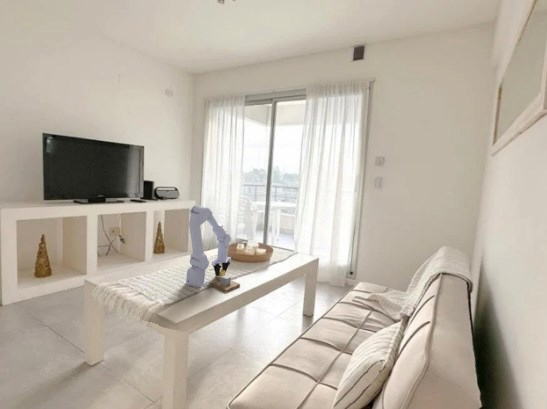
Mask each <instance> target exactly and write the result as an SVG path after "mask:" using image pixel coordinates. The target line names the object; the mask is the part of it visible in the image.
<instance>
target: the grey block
mask: <svg viewBox="0 0 547 409" xmlns="http://www.w3.org/2000/svg"><path fill="white" fill-rule="evenodd" d="M220 279H221V281H220V284H222V285H225V286H226V285H229V284H230V282H231V281H232V277H231V276H229V275H227V274H225V275H224V276H221V278H220Z"/></svg>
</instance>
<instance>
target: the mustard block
mask: <svg viewBox="0 0 547 409" xmlns="http://www.w3.org/2000/svg"><path fill="white" fill-rule="evenodd" d="M224 275H226V273H225V270H223V269H222V268H220V272H219V276H216V275H215V277H216V278H219V279H221V276H224Z"/></svg>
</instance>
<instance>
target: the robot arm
mask: <svg viewBox="0 0 547 409" xmlns="http://www.w3.org/2000/svg"><path fill="white" fill-rule="evenodd" d="M189 214H190V216H189V220H188V221H189V222H188V226H189V234H190V238H191V239H190V240H191V246H192V253H191V254H190V259H189V263H190V265H191V266H189V267H188V269H187V271H186V278H185V280H186V281H185V283H184V284H185V285H188V286H192V287H196V288H197V287H198V288H202V287H203V286H205V285H206V283H207V282H208V281H206V280H205V277H206V276H205V275H206V270H207V269H208V267H209V266H210V261H209V259H208V257H207V255H206V253H205V252H204V246H203V236H202V231H201V229H202V228H201V225H203V224H204V223H205V222H206V221H207V222H208V223H209V225H210V226H211V227H212V229H211V230H212V232H213V233H214V235H215V237H216V239H217V241H218V246H217V255H216V256H217V257H216V259H215V260H213V261H211V265H212V267H213V270H214V275H215V277H216V276H219V272H220V269H223V270H225V274H226V273H227V270H228V267H229V266H230V265H231V261H232V257H230V256H228V250H229V249H228V248H229V246H230V243H231V240H232V237H231V235H230V234H228V233H227V231H226V230H225V228H224V226H223V225H222V224H220V223H218V222H217V220H216V218H215V216H214V215H213V211H211V209H210V208H209V207H205V206H200V205H199V204H195V205H193V206H192V207H191V209H190V210H189ZM220 264H221V265H220Z"/></svg>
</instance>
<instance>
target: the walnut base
mask: <svg viewBox="0 0 547 409" xmlns="http://www.w3.org/2000/svg"><path fill="white" fill-rule="evenodd" d="M220 281H221V278H219V279H217V280H214V281H211V282H210V283H209V286H210V287H211V288H214V289H216V290H219V291H221V292H223V293H228V292H231V291H234V290H236V289H238V288H240V287H241V284H240V283H239V282H236V281H234V280H231V282H230V284H229V285H226V286H225V285H222V284H220Z"/></svg>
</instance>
